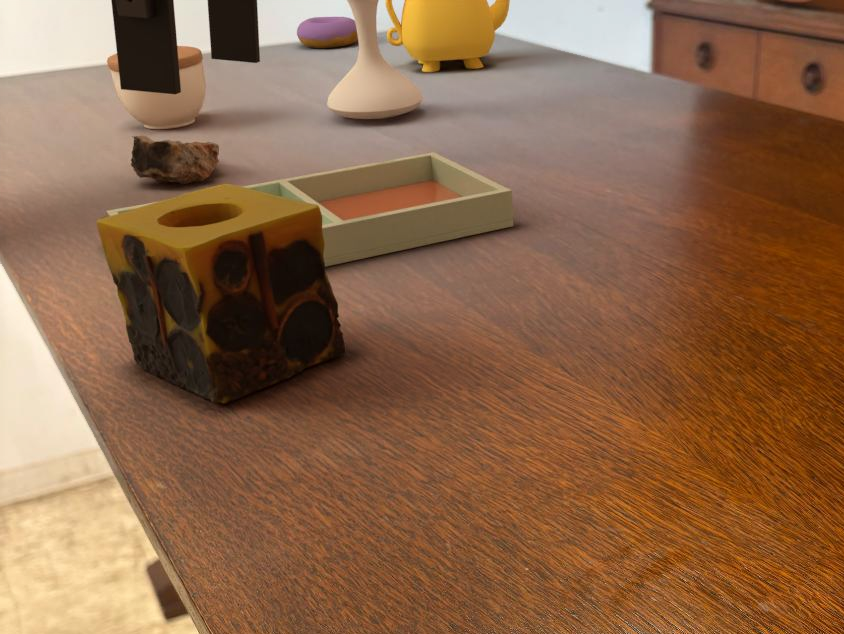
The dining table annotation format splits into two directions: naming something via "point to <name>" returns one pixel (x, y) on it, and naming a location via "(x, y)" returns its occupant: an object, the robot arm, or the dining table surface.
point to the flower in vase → (372, 76)
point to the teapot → (447, 30)
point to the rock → (173, 160)
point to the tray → (394, 205)
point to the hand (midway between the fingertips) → (197, 75)
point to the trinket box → (162, 106)
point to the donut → (327, 32)
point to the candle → (224, 289)
